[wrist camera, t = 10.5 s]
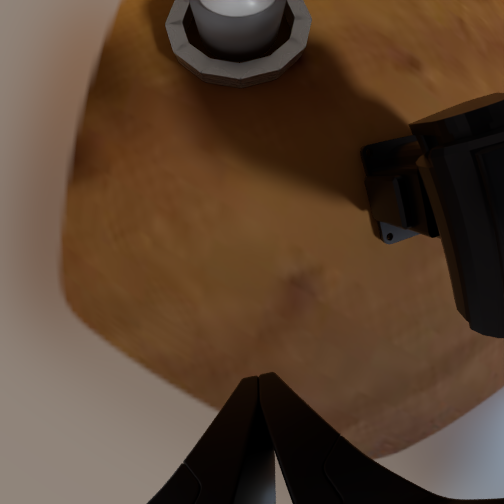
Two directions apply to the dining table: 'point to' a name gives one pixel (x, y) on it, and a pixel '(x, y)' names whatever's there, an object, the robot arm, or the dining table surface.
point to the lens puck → (238, 26)
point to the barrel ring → (231, 71)
